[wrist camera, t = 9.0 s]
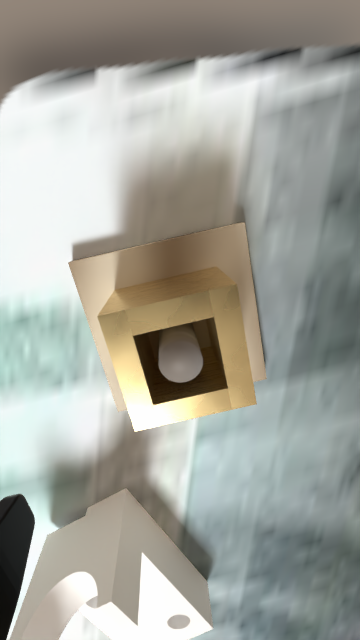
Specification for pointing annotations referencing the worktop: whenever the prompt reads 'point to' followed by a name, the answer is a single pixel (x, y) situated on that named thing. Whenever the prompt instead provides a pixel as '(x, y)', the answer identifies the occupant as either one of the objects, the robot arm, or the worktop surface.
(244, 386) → the brass collar
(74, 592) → the bracket
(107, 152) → the worktop surface
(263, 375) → the post board
